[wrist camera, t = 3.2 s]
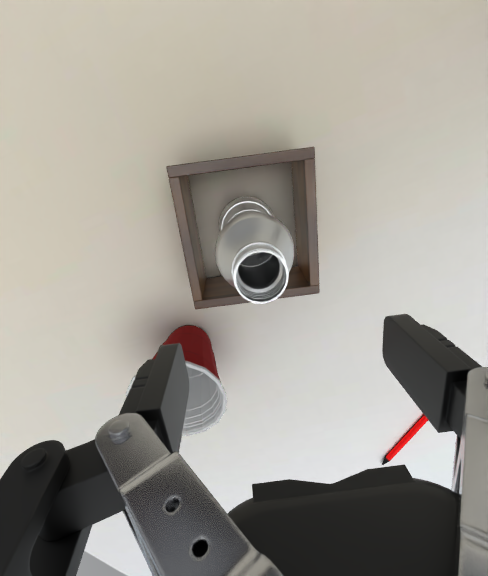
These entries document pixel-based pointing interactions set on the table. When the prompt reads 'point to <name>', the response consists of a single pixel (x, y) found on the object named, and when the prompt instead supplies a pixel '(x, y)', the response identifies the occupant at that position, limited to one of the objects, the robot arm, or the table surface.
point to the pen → (405, 439)
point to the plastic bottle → (254, 250)
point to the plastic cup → (199, 380)
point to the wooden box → (305, 213)
